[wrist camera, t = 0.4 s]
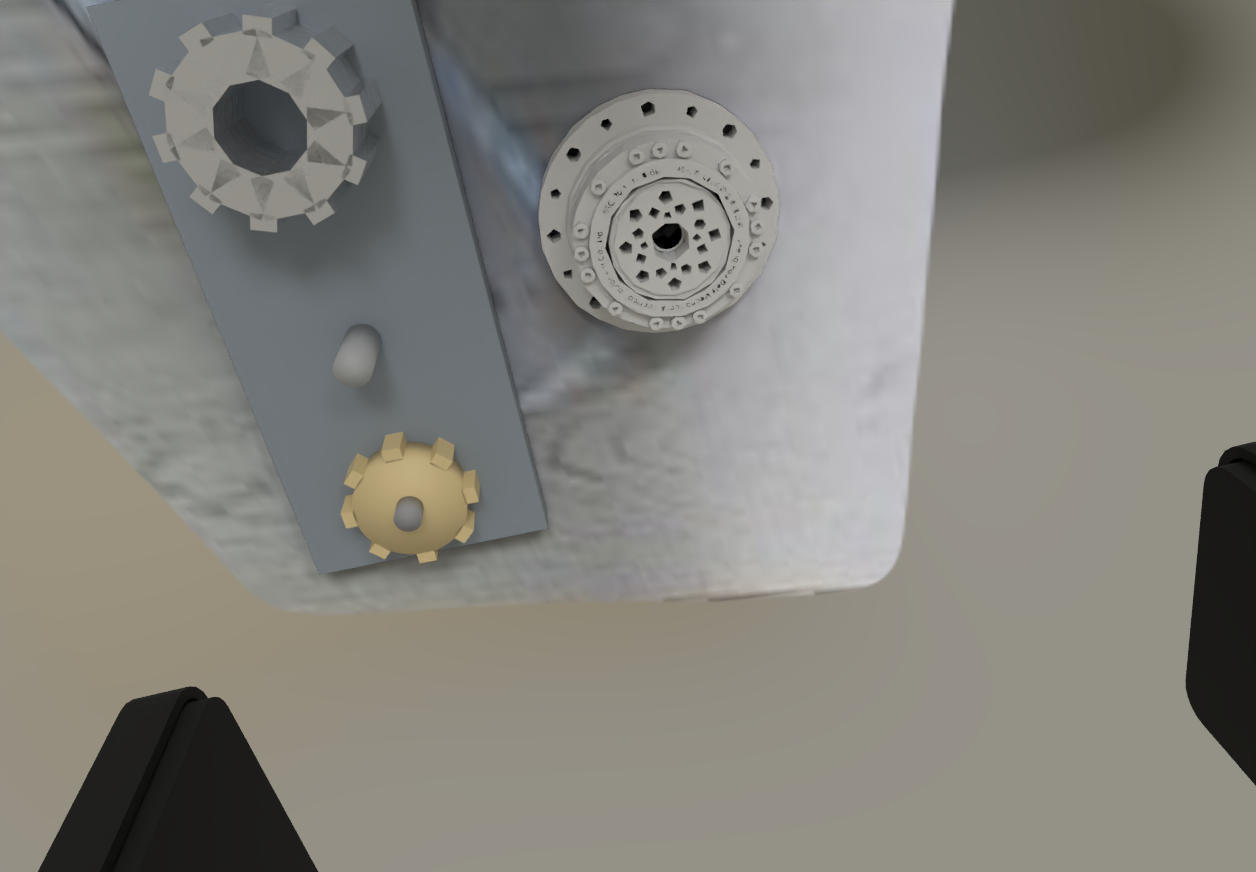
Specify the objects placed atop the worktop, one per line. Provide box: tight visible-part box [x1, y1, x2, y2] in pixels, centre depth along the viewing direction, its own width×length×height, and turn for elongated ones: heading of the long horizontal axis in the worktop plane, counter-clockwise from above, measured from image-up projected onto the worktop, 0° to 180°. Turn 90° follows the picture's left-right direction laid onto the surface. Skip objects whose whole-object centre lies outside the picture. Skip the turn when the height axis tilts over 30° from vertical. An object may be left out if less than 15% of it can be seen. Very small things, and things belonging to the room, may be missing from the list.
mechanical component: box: [538, 89, 780, 333], centre depth 39 cm, size 10×4×10 cm
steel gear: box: [149, 4, 382, 232], centre depth 34 cm, size 7×7×4 cm
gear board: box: [86, 0, 548, 575], centre depth 39 cm, size 25×11×4 cm, turn 10°
